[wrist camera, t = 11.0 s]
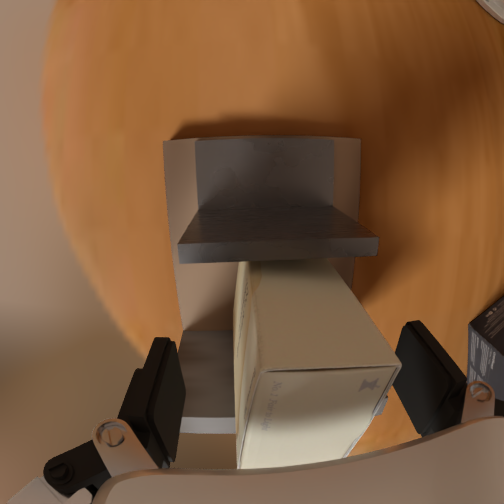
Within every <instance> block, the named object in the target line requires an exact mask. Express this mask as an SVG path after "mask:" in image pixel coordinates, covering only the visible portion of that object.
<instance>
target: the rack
mask: <svg viewBox="0 0 504 504" xmlns="http://www.w3.org/2000/svg"><path fill="white" fill-rule="evenodd" d="M247 138H302V139H328V140H334V188H333V206H334V207H335V208H337V209H338V210H340V211H341V212H343V213H344V214H346V215H347V216H349V217H350V218H352V219H353V220H355V221H356V222H358V215H359V198H360V172H361V139H356V138H343V137H326V136H299V135H248V136H221V137H204V138H190V139H179V140H168V141H163V154H164V171H165V186H166V199H167V210H168V221H169V231H170V240H171V249H172V258H173V266H174V273H175V281H176V288H177V295H178V301H179V308H180V314H181V320H182V326H183V334H182V338H181V342H180V346H179V350H178V358H179V362H180V366H181V371H182V375H183V379H184V383H185V388H186V398H185V403H184V409H183V415H182V421H181V427H180V432H182V433H215V434H219V433H220V434H224V433H236V423H235V392H234V348H233V308H234V299H235V290H236V281H237V273H238V265H239V262H220V263H192V264H179V256H178V247H177V244H178V242H179V240H180V239H181V237H182V235H183V234H184V232H185V230H186V229H187V227H188V225H189V224H190V222H191V220H192V219H193V217H194V216H195V214H196V212H197V211H198V199H197V182H196V162H195V141H204V140H221V139H247ZM327 259H328V260H329V261H330V263H331V264H332V265H333V267H334V268H335V269H336V271H337V272H338V273H339V275H340V276H341V278H342V279H343V280H344V282H345V283H346V284H347V286H348V287H349V288H350V290H351V288H352V280H353V271H354V262H355V257H340V258H327ZM387 400H388V396H387V395H386V397H385V398H384V400H383V402H382V404H381V405H380V407H379V409H378V410H377V412H376V414H375V416H376V415H381V414H382V412H383V409H384V407H385V405H386V402H387Z"/></svg>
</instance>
